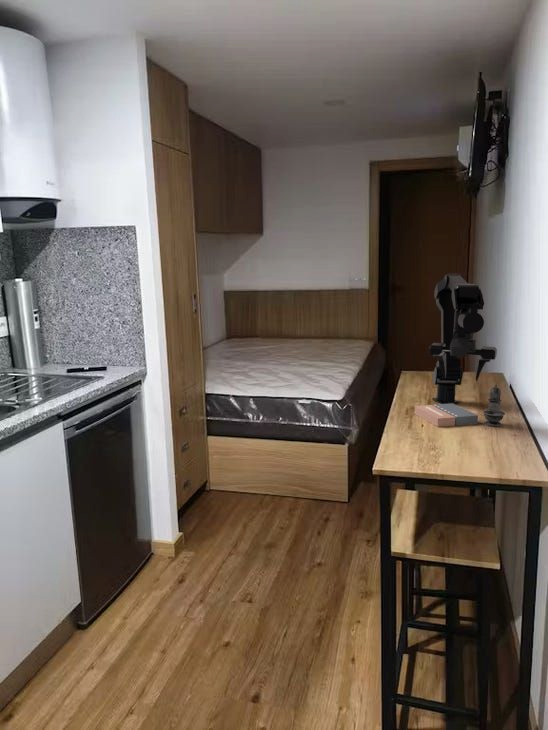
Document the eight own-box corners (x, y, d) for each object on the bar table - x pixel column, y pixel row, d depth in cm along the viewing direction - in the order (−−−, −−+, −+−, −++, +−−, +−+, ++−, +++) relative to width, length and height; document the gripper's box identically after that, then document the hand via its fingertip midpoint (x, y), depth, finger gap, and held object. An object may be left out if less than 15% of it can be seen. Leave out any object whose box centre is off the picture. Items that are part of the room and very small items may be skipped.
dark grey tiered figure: (502, 422, 166) (505, 382, 163) (505, 428, 160) (508, 387, 158) (481, 420, 167) (484, 381, 165) (483, 426, 162) (486, 386, 159)
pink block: (414, 413, 175) (414, 405, 174) (430, 412, 176) (431, 404, 176) (437, 426, 162) (437, 418, 161) (454, 425, 163) (455, 416, 162)
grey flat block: (431, 412, 176) (432, 404, 176) (452, 410, 178) (452, 403, 177) (456, 425, 163) (456, 416, 162) (477, 423, 164) (478, 415, 164)
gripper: (426, 329, 162) (423, 381, 165) (495, 333, 154) (490, 388, 157) (433, 324, 172) (430, 373, 175) (498, 328, 163) (494, 380, 167)
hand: (460, 379), depth 168 cm, fingers open, 9 cm apart
